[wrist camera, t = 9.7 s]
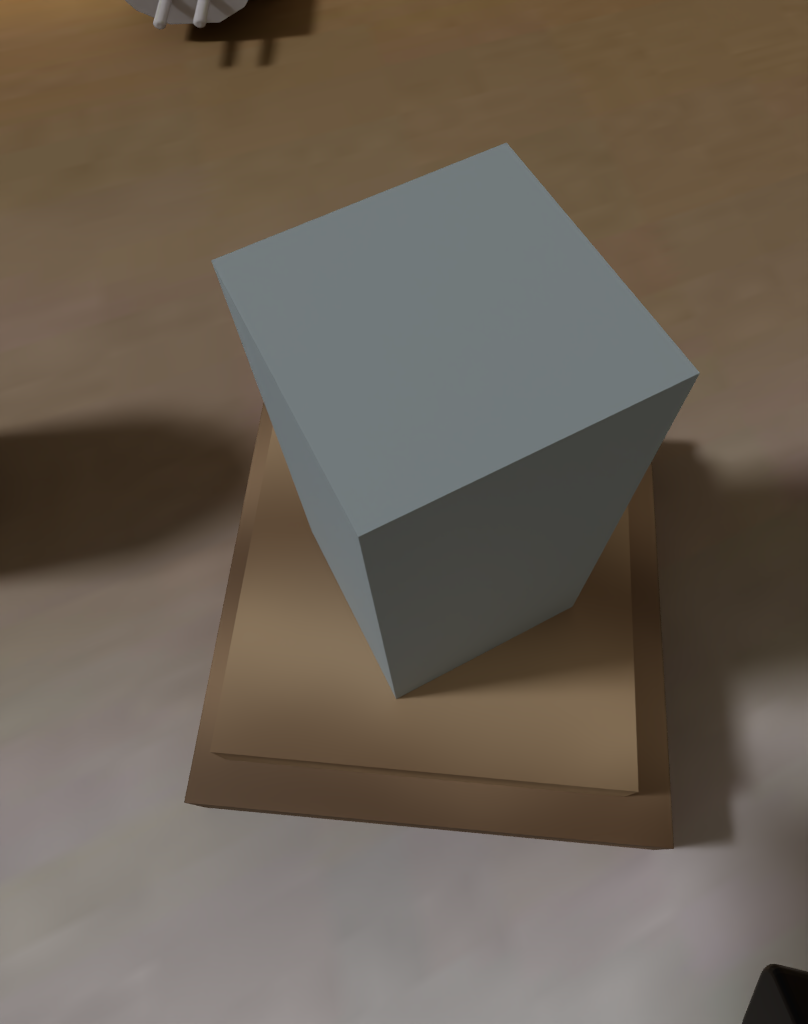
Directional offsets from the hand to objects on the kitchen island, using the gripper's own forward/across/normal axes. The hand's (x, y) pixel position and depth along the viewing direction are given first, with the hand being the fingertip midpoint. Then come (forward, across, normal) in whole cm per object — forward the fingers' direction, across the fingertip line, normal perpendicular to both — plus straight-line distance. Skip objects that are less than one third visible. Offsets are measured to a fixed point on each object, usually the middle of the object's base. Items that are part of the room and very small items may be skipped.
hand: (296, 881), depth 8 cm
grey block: (+12, 0, +2) cm, 12 cm away
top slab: (+13, 0, +3) cm, 14 cm away
